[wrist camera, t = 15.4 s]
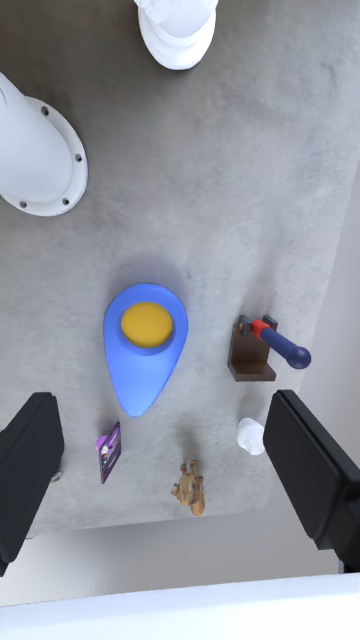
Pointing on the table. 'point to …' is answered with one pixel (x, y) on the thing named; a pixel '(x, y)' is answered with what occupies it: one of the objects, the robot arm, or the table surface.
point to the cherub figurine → (177, 30)
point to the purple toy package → (104, 447)
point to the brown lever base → (250, 353)
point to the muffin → (250, 436)
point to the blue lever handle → (281, 345)
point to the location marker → (143, 343)
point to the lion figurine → (190, 490)
